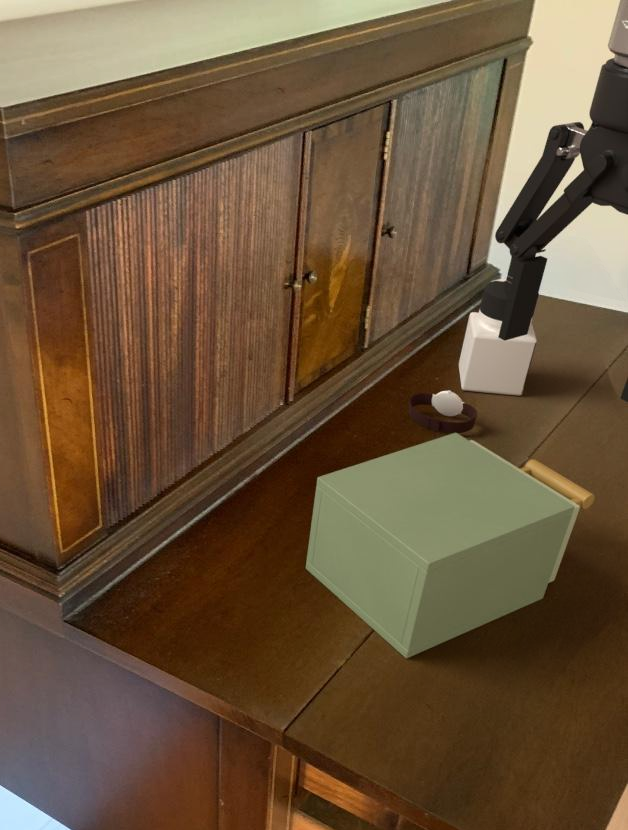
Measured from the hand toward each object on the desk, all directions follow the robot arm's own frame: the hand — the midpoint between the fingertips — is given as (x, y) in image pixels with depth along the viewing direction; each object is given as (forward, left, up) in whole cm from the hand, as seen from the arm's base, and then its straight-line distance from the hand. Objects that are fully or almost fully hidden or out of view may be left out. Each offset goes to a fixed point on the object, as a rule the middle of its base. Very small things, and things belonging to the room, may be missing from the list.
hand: (570, 364), depth 75 cm
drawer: (+5, +4, -17) cm, 18 cm away
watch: (+5, -23, -18) cm, 30 cm away
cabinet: (+9, +7, -18) cm, 22 cm away
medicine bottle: (-2, -35, -18) cm, 39 cm away
